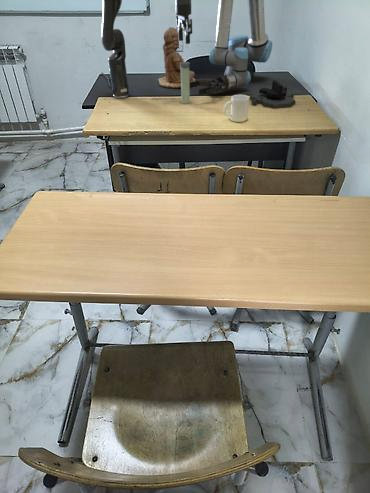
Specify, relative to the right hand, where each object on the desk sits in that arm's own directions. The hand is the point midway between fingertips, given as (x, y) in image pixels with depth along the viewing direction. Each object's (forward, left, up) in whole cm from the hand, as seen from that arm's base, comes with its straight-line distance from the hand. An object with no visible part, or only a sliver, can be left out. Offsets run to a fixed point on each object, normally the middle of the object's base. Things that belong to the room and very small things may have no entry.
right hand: (192, 88), depth 192 cm
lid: (+3, -3, +13) cm, 13 cm away
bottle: (+3, -3, -7) cm, 8 cm away
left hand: (+3, -3, +22) cm, 23 cm away
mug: (+11, +33, -7) cm, 36 cm away
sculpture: (-24, -29, -7) cm, 38 cm away
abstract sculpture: (-23, +37, -7) cm, 44 cm away
